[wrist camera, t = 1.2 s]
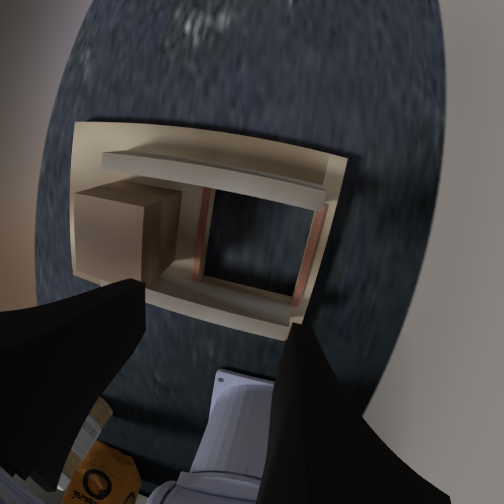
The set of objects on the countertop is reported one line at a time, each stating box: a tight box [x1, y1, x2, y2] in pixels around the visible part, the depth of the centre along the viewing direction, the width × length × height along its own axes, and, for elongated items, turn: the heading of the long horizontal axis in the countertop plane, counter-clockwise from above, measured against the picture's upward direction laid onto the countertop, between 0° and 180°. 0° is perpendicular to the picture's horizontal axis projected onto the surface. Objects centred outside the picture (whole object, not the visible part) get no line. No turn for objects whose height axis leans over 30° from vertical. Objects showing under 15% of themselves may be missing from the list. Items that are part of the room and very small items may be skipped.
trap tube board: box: [70, 122, 348, 341], centre depth 17 cm, size 12×18×4 cm, turn 79°
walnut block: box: [74, 181, 182, 289], centre depth 15 cm, size 4×4×4 cm
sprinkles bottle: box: [57, 397, 113, 491], centre depth 22 cm, size 5×5×14 cm
